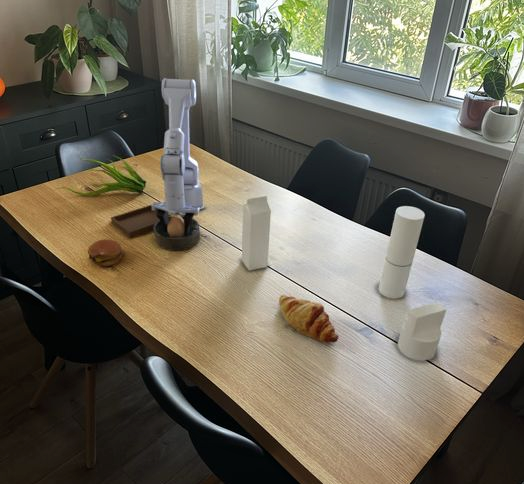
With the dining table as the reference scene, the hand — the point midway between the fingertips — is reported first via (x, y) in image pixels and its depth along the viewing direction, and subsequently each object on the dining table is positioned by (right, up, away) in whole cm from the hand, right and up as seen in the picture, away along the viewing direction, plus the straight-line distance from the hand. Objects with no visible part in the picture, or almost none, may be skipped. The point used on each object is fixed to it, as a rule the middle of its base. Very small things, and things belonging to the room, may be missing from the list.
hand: (177, 232), depth 157 cm
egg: (0, -2, +1) cm, 2 cm away
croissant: (+38, -26, -29) cm, 55 cm away
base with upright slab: (+65, -31, -35) cm, 80 cm away
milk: (+25, -10, -8) cm, 28 cm away
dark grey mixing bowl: (0, -2, +1) cm, 3 cm away
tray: (-13, +4, +9) cm, 16 cm away
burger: (-19, -9, -9) cm, 23 cm away
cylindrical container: (+63, -18, -16) cm, 68 cm away
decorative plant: (-31, +16, +25) cm, 43 cm away
